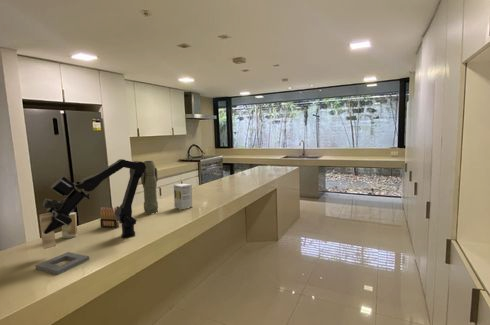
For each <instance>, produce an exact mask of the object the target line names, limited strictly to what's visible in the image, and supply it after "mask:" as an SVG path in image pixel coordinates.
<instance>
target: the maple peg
mask: <svg viewBox="0 0 490 325" xmlns="http://www.w3.org/2000/svg"><path fill="white" fill-rule="evenodd" d="M51 216H53V214H52V213H50V212H46V213H42V214H39V224H40V234H41V245H42V248H43V249H44V250H46V249H50V248H53V247H56V246H57V245H56V235H55V230H53V231H51V232H49V233H47V234H45V233H44V231H45V230H46V228H47V227H48V225H49V224H50V223H51V221H52V219H51Z"/></svg>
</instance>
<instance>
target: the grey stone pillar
mask: <svg viewBox="0 0 490 325" xmlns="http://www.w3.org/2000/svg"><path fill="white" fill-rule="evenodd" d="M143 162H144V163H145V165H146V169H145V171H144V173H143V175H142V176H141V178H140V183H141V185H142V188H143V198H144V202H143V210H144V214H145V213H146V214H145V215H152V214H151V213H154V214H157V213H159V210H158V209H159V203H158V199H157V198H158V197H157V187H158V185H157V183H158V181H159V180H158V169H157V167H155V165H156V164H155V163H154V161H153V160H145V161H143ZM156 212H157V213H156Z"/></svg>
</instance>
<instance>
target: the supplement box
mask: <svg viewBox="0 0 490 325" xmlns="http://www.w3.org/2000/svg"><path fill="white" fill-rule="evenodd" d="M192 186H193V185H192V184H190V183H178V184H173V197H174V198H173V201H174V208H175V207H176V208H175V209H177V208H179V209H178V210H180V209H184V210H186V209H185V208H188V207H192V208H193V190H192V189H193V188H192ZM188 209H189V208H188Z"/></svg>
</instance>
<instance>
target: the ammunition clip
mask: <svg viewBox="0 0 490 325" xmlns="http://www.w3.org/2000/svg"><path fill="white" fill-rule="evenodd" d="M116 207H117V206H116ZM116 207H115V206H114V207H113V206H112V207H110V206H106V207H105V206H103V207H102V206H101V207H100V219H99V221H100V228H102V229H104V228H105V229H119V227H120V226H119V224H120V222H119V221H118V220H117V219H116V218H115V214H114V213H115V212H116Z"/></svg>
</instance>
